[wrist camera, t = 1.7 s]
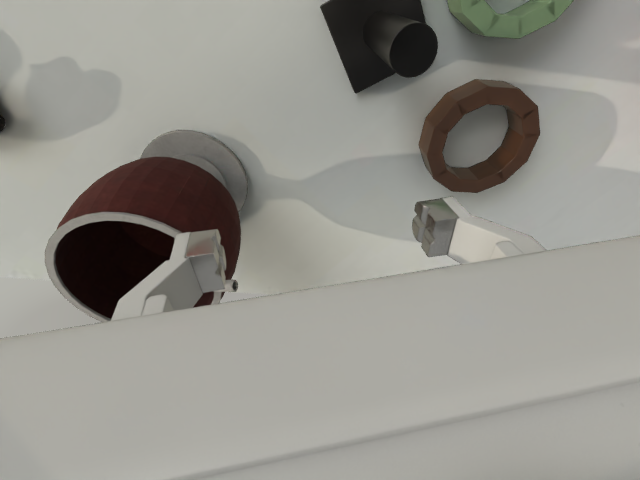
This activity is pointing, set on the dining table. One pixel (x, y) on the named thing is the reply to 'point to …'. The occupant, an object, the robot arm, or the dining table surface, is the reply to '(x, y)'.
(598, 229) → the dining table surface
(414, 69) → the rack post
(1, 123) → the rubber snake
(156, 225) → the mate gourd
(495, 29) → the green ring
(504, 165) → the walnut ring
